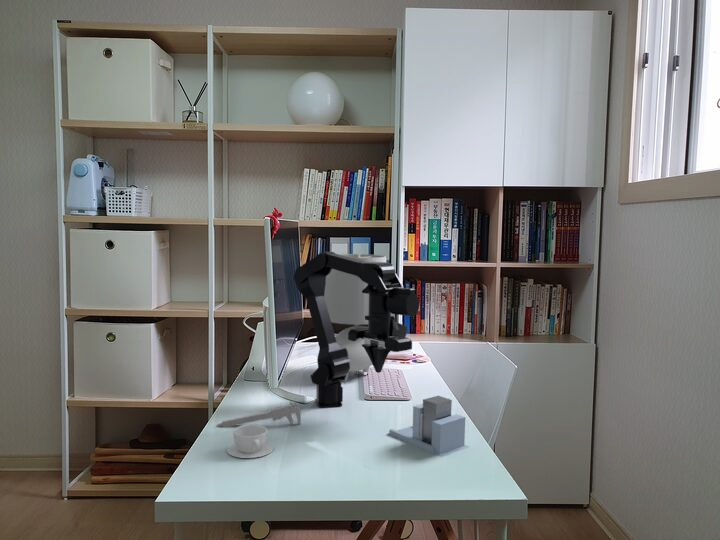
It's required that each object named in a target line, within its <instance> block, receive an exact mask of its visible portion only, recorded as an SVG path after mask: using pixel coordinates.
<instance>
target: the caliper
mask: <svg viewBox="0 0 720 540" xmlns="http://www.w3.org/2000/svg"><path fill="white" fill-rule="evenodd" d="M289 405H290V406H289ZM289 405H286V406H285V405H284V406H282V407H274V408H272V409H270V411H266V412H265V411H264V412H260V413H254V414H250V415H245V416H239V417H236V418H235V417H234V418H229V419H226V420H225V419H224V420H221V422H220V423H218V424H217V425H216V427H217V428H219V427H223V428H225V427H228V428H229V427H233V426H238V425H243V424H244V425H245V424H248V423H253V422H259V421H262V420H263V421H264V420H269V419H272V421H276V420H281V419H283V418H284V417H286V419H287V420H288V423H289V424H290V426H294V420H293V414H295V416H296V420H297V424H298V425H301V424H302V423H301V422H302V421H301V417H302V416H301V415H302V414H301V413H302V412H301V409H300V405H299V403H298V404H297V402H296V400H294V401H293V402H292V401H289Z"/></svg>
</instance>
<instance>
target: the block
mask: <svg viewBox="0 0 720 540" xmlns="http://www.w3.org/2000/svg"><path fill="white" fill-rule="evenodd" d="M452 400H453V399H450V398H447V397H443V396H441V395H436V396H435V395H434V396H432V397H428V398H424V399H423V400H422V404H423V420H422V442H425V443H427V444H430V445H432V421H436V420H439V419H442V418H446V417H449V416H452V405H453V404H452V402H453V401H452Z"/></svg>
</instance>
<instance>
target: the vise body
mask: <svg viewBox="0 0 720 540" xmlns="http://www.w3.org/2000/svg"><path fill="white" fill-rule="evenodd" d="M388 431H389V432H387V434H388V435H390V436H392V437H395V438H398V439H400V440H402V441H404V442H406V443H409V444H411V445H414V446H415V447H419V448H421V449H423V450H425V451H427V452H430V453H432V454H434V455H436V456H440V457H444V456H447V455H450V454H453V453H456V452H459V451H461V450H464V449H467V448H469V447H470V446H469V445H466V444H465V438H466V437H465V434H466V416H463V415H460V414H458V413H457V414H451V416H449V417H446V418H442V419H439V420H436V421H432V445H430V444H427V443H425V442H422V441H420V440H417V439H415V438H413V437H412V436H413V425H412V426H408V427H405V428H400V429H398V430H395V429H394V428H391V429H389V430H388Z"/></svg>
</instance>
